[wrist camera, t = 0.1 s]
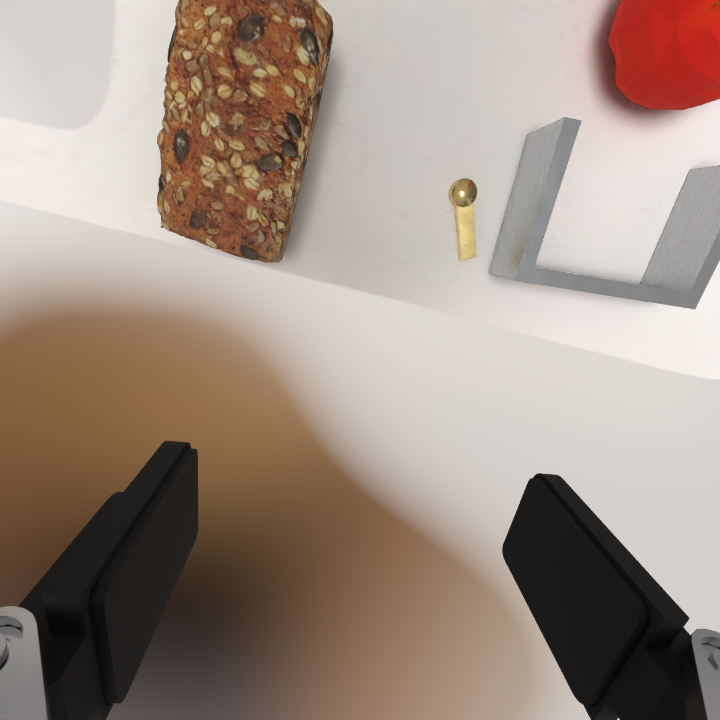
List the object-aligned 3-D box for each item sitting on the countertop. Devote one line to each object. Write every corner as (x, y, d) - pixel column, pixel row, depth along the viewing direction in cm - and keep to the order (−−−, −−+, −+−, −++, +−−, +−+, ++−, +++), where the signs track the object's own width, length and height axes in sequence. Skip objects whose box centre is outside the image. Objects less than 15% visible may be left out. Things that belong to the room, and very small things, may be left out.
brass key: (447, 182, 36) (450, 181, 35) (472, 177, 35) (476, 176, 35) (454, 260, 38) (457, 260, 37) (477, 255, 38) (480, 256, 37)
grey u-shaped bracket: (527, 135, 34) (564, 117, 29) (702, 172, 37) (768, 162, 31) (488, 272, 39) (514, 280, 33) (646, 298, 41) (694, 309, 36)
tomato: (600, 148, 35) (703, 117, 25) (574, -9, 31) (687, -121, 21) (735, 83, 34) (897, 24, 24) (729, -92, 29) (926, -251, 20)
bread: (287, 260, 37) (271, 271, 28) (184, 226, 35) (131, 226, 26) (338, 56, 31) (340, -17, 22) (218, 3, 29) (164, -101, 20)
